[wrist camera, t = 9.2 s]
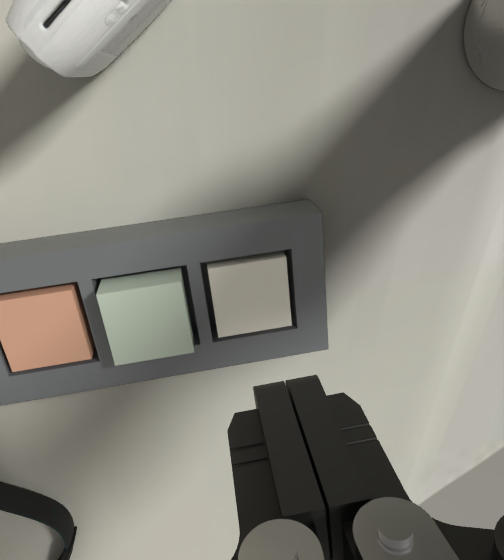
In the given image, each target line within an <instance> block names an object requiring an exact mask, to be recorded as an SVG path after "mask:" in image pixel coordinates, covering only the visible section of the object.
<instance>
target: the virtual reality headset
mask: <svg viewBox="0 0 504 560" xmlns="http://www.w3.org/2000/svg"><path fill="white" fill-rule="evenodd" d="M0 510H2V511H6V512H9V513H13V514H16V515H20V516H24V517H27V518H30V519H33V520H36V521H39V522H41V523H44V524H46V525H48V526H50V527H52V528H53V529H55V530H56V531H57V532H58V533H59V534H60V535H61V536H62V538H63V540H64V543H65V548H64V551H63V552H62V554H61V556H60V558H59V559H58V560H69V559H70V556H71V553H72V549H73V545H74V540H75V536H76V530H77V527H76V526H74V523H73V519H72V517H71V514H70V513H69V511H68V510H67V509H66V508H65V507H64V506H63V505H62V504H60V503H59V502H57V501H55V500H53V499H51V498H49V497H47V496H44V495H42V494H39V493H36V492H33V491H30V490H27V489H24V488H20V487H17V486H13V485H10V484H6V483H3V482H0Z"/></svg>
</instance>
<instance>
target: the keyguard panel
mask: <svg viewBox="0 0 504 560" xmlns="http://www.w3.org/2000/svg"><path fill="white" fill-rule="evenodd" d="M281 250H282V251H283V252H284V254H285V256H286V261H287V273H288V285H289V297H290V310H291V322H292V326H286V327H280V328H274V329H268V330H262V331H256V332H250V333H244V334H238V335H232V336H226V337H220V338H218V332H217V326H216V319H215V313H214V306H213V300H212V294H211V287H210V281H209V275H208V268H207V262H209V261H215V260H222V259H228V258H235V257H242V256H248V255H255V254H261V253H268V252H274V251H281ZM178 267H181V271H182V276H183V282H184V287H185V293H186V298H187V304H188V309H189V315H190V320H191V326H192V331H193V342H194V353H188V354H182V355H176V356H170V357H164V358H158V359H152V360H147V361H141V362H135V363H129V364H123V365H117V366H115V364H114V360H113V356H112V353H111V349H110V345H109V341H108V338H107V334H106V330H105V326H104V323H103V319H102V315H101V312H100V308H99V304H98V300H97V297H96V294H97V291H98V288H99V285H100V282H101V279H106V278H112V277H119V276H125V275H132V274H138V273H145V272H152V271H158V270H165V269H171V268H178ZM71 282H78V286H79V289H80V293H81V296H82V300H83V303H84V307H85V310H86V314H87V318H88V321H89V325H90V328H91V332H92V335H93V339H94V342H95V349H94V352H93V356H92V359H89V360H83V361H77V362H71V363H65V364H59V365H53V366H47V367H41V368H35V369H29V370H23V371H17V372H12V370H11V367H10V364H9V362H8V359H7V356H6V354H5V351H4V348H3V346H2V343H1V340H0V406H1V405H7V404H13V403H18V402H24V401H30V400H36V399H42V398H48V397H53V396H59V395H65V394H71V393H77V392H82V391H88V390H94V389H100V388H106V387H111V386H117V385H123V384H129V383H135V382H141V381H146V380H152V379H158V378H164V377H170V376H175V375H181V374H187V373H193V372H199V371H205V370H210V369H216V368H222V367H228V366H234V365H239V364H245V363H251V362H257V361H263V360H268V359H274V358H280V357H286V356H292V355H298V354H303V353H309V352H315V351H321V350H327V349H328V329H327V307H326V286H325V265H324V243H323V222H322V212H321V211H320V210H319V209H318V208H317V207H316V206H315V205H314V204H313V203H312V202H311V201H310V200H309V199H307V200H300V201H293V202H286V203H279V204H272V205H265V206H258V207H251V208H244V209H237V210H230V211H223V212H216V213H209V214H202V215H195V216H188V217H181V218H174V219H167V220H160V221H154V222H147V223H140V224H133V225H126V226H119V227H112V228H105V229H98V230H91V231H84V232H77V233H70V234H63V235H56V236H49V237H42V238H35V239H28V240H21V241H14V242H7V243H0V293H5V292H12V291H18V290H25V289H31V288H38V287H45V286H51V285H58V284H64V283H71Z"/></svg>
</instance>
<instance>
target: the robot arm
mask: <svg viewBox="0 0 504 560" xmlns="http://www.w3.org/2000/svg"><path fill="white" fill-rule="evenodd" d="M464 48H465V53H466V57H467V60H468V63H469V65H470V67H471V69H472V71H473V72H474V73H475V75H476V76H477V77H478V78H479V80H481V81H482V82H483V83H485V84H486V85H487V86H489V87H492V88H495V89H497V90H503V91H504V0H472V2H471V4H470V7H469V10H468V13H467V16H466V21H465V28H464ZM253 390H254V397H255V403H256V409H254V410H249V411H243V412H238V413H235V414H234V416H233V418H232V421H231V423H230V426H229V428H228V439H229V447H230V455H231V463H232V471H233V479H234V487H235V495H236V503H237V511H238V520H239V528H240V537H239V543H238V546H237V549H236V552H235V554H234V556H233V557H232V559H231V560H504V516H503V517H502V518H500V520H499V521H498V522H497V524H496V527H495V530H491V529H480V528H471V527H461V526H455V525H450V524H446V523H443V522H440V521H438V520H435V519H433V518H431V516H430V515H429V514H428V513H427V512H426V511H425V510H423V509H422V508H421V507H420V506H418V505H416V504H414V503H413V502H412V501H411V500H410V499H409V497H408V495H407V494H406V492H405V490H404V488H403V486H402V484H401V482H400V480H399V479H398V477H397V475H396V473H395V471H394V469H393V467H392V465H391V463H390V461H389V460H388V458H387V456H386V454H385V452H384V450H383V448H382V446H381V444H380V442H379V441H378V440H377V438H376V435H375V433H374V431H373V429H372V427H371V426H370V425H369V422H368V420H367V418H366V416H365V414H364V412H363V410H362V408H361V406H360V405H359V404H358V403H356V402H355V401H354V400H352V399H351V398H350V397H349V396H347V395H346V394H345V393H338V394H333V395H328V396H326V394H325V392H324V389H323V387H322V385H321V383H320V380H319V378H318V376H317V375H313V376H307V377H302V378H296V379H291V380H286V385H285V383H284V381H281V382H275V383H270V384H265V385H259V386H254V387H253Z"/></svg>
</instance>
